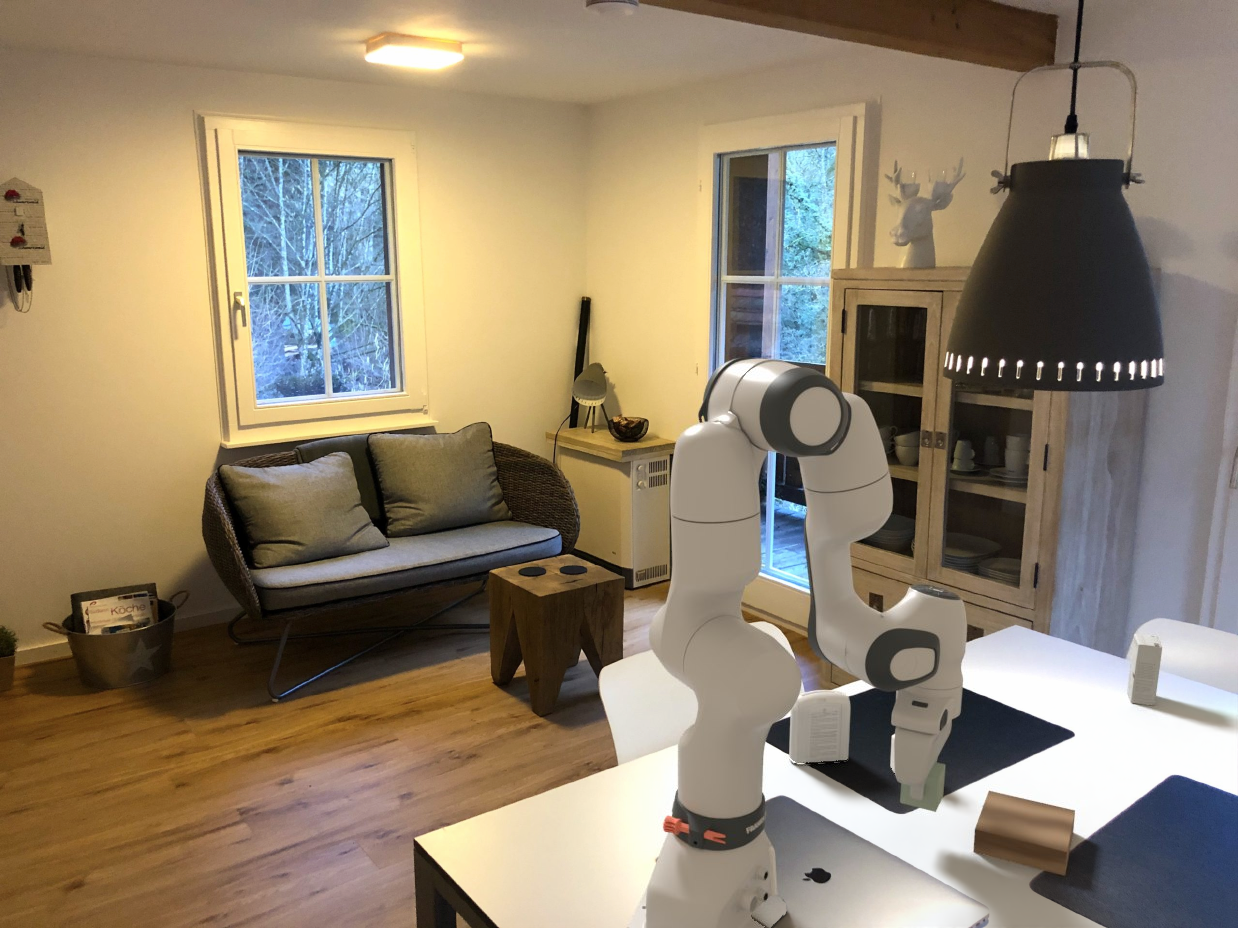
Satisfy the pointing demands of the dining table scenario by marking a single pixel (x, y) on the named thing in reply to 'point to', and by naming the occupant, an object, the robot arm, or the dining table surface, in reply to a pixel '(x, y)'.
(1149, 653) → the skincare box
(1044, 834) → the walnut block
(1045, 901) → the dining table surface
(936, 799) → the green cube
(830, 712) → the white rounded block
